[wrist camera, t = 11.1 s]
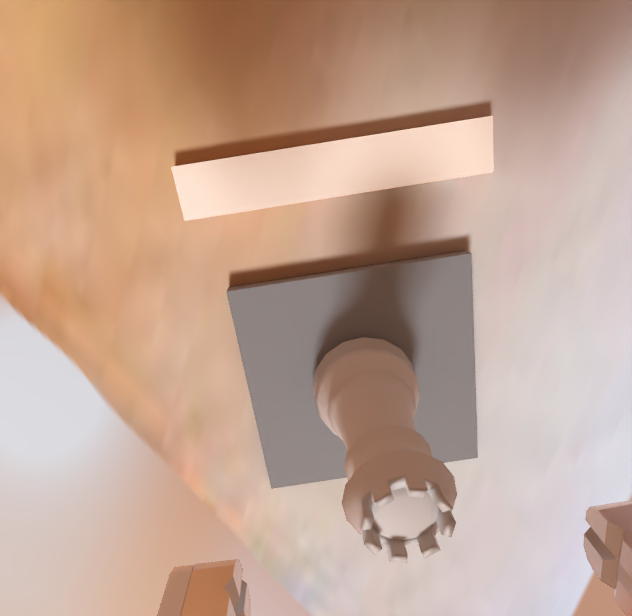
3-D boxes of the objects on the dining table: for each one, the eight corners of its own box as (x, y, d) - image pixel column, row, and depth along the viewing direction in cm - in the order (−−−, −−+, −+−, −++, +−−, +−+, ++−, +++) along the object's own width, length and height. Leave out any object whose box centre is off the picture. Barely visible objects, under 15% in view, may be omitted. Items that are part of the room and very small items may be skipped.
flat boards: (174, 166, 16) (170, 166, 16) (487, 116, 16) (494, 115, 15) (252, 482, 21) (250, 491, 20) (493, 446, 21) (498, 454, 20)
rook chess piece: (390, 315, 18) (460, 427, 10) (427, 399, 19) (513, 552, 12) (294, 359, 18) (293, 497, 11) (337, 437, 20) (363, 610, 12)
